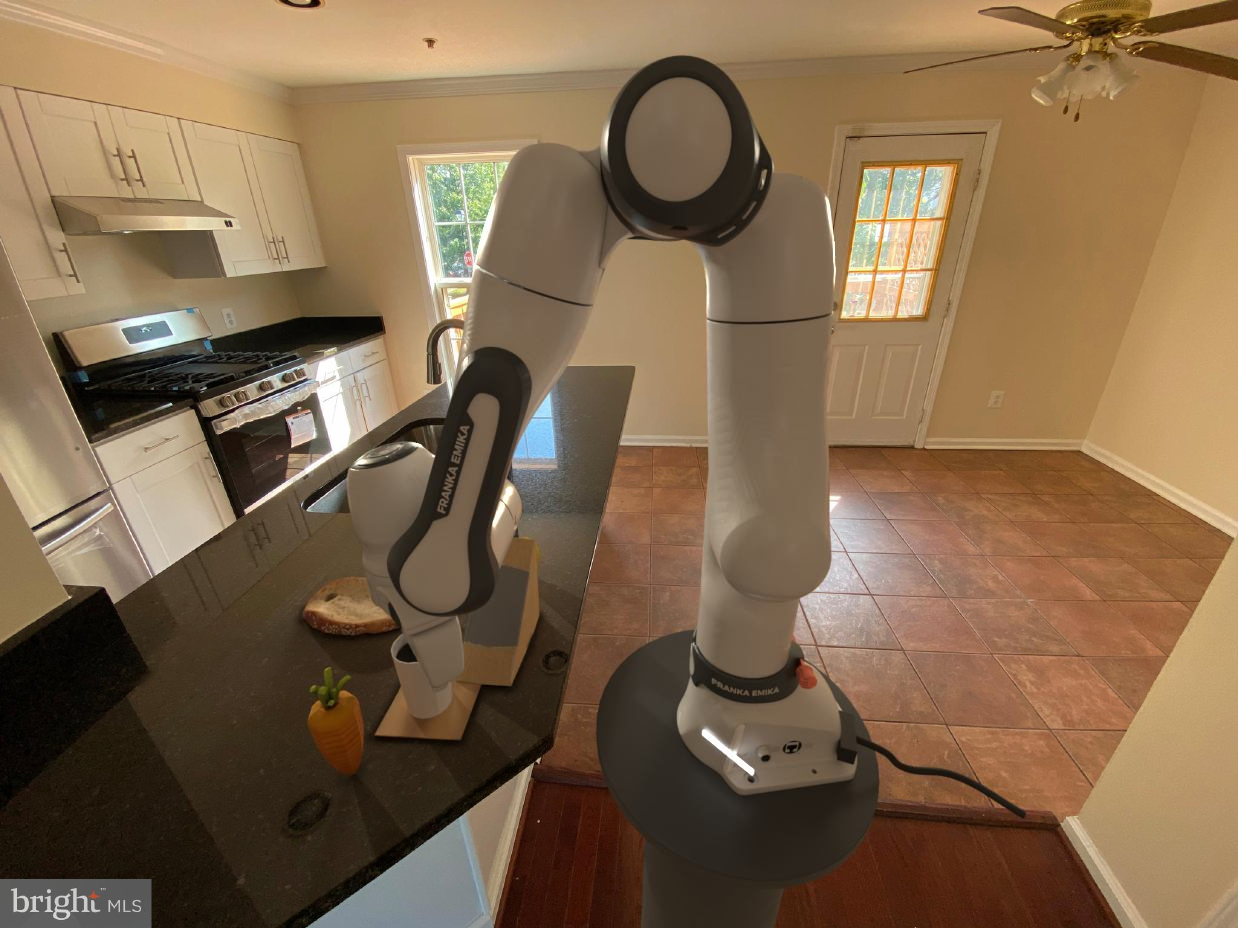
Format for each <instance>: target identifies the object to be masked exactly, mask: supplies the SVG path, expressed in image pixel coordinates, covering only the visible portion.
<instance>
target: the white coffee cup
mask: <svg viewBox="0 0 1238 928" xmlns="http://www.w3.org/2000/svg"><path fill="white" fill-rule="evenodd" d="M390 653H391V657H392V661H393V664H394V667H395V671H396V674H397V677H398V681H399V685H400V688H401V687H402V691H403V694H404V697H405V701H406V704H407V707H408V711H409V713H410V714H411V715H412V716H413V717H415V718H419V719H427V718H432V717H434V716H437V715H439V714H440V713H442V712H443V711H444V710H445V709H447V707H448V706H449V704H450V703H451V701H452V696H453V693H452V684H451V682H449V683H448V686H447V687H446V688H445V689H443V690H441V691H439V692H434V691H433V689H432V687H431V685H430V684H429V682H428V679H427V678H426V676H425V674H424V672H423V670H422V668H421V666H420V664H419V662H418V661H417V659H416V657H415V655H414V653H413V651H412V649H411V647H410V646H409V644H408V642H407V640H406V638H405V636H404V635H403V633H401V634H400V635H399V636H398V637H397V638H396V639H395V640H394V641H393V643H392V645H391V647H390Z"/></svg>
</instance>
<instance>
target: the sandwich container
mask: <svg viewBox="0 0 1238 928" xmlns="http://www.w3.org/2000/svg"><path fill="white" fill-rule="evenodd" d="M536 544H537V541H536V539H534V538H530V539H525V538H522V537H513V539H512V542H511V544H510V547H509V549H508V551H507V554H506V556H505V558H504V561H503V563H502V566H501V568H500V570H499V575H498V579H497V582H496V585H495V588H494V592H493V594H492V596H491V598H490V599H489V601H488V602H487V603H486V604H485V605H484V606H482V607H481V608H479V609H478V610H476V611H473V612H470V613H468V617H467V623H466V628H465V634H464V638H463V642H462V643H463V654H464V671H463V673H462V674H461V675H460V676H459V677H458V678H456V681H463V682H470V683H477V684H482V685H488V686H506V687H512V686H513V683H514V680H515V679H516V676H517V673H518V672H519V670H520V667H521V665H522V662H523V660H524V657H525V655H526V653H527V650H528V648H529V645H530V642H531V639H532V637H533V635H534V633H535V630H536V627H537V623H538V621H539V618H540V601H539V581H538V566H537V558H536Z"/></svg>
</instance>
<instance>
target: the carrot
mask: <svg viewBox="0 0 1238 928" xmlns="http://www.w3.org/2000/svg"><path fill="white" fill-rule="evenodd" d="M323 677H324V683H325V685H321V686H319V685H317V684H315V685H312V686H311V687H310V690H309V693H310V694H312V695H315V696H317V698H318V701H316V702H315V703H314V704H313V705H312V706H311V708H310V709H311V710H310V712H309V715H308V717H307V727H308V729H309V733H310V734H311V737H312V739H313V742H314V744H315V746H316V748H317V750H318V752H319V753H320V754H321V755H322V757H323V758H324V759H325V760H326V762H327V763H328V764H329V765H330V766H331V767H333V768H334V769H335V770H337V771H338V772H339V773H341V774H343V775H345V776H354V775H355V774H356V773H357V772H358V769H359V767H360V766H361V762H362V757H363V752H364V747H365V746H364V745H365V727H364V726H365V725H364V720H363V715H362V711H361V706H360V702H359V700H358V698H357V697H356V696H355V695H354V694H351V693H350V692H348V691H347V690H342V689H343V686H344V685H346V683H347V682H348V681H350V680H351V679H352V676H351V675H346V676H344V677H343V678H342V679H341V680H339V681H338V683H337V685H336V687H334V683H333V682H334V681H333V670H332V667H331V666H330V667H326V668H325V669H324V670H323Z"/></svg>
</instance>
